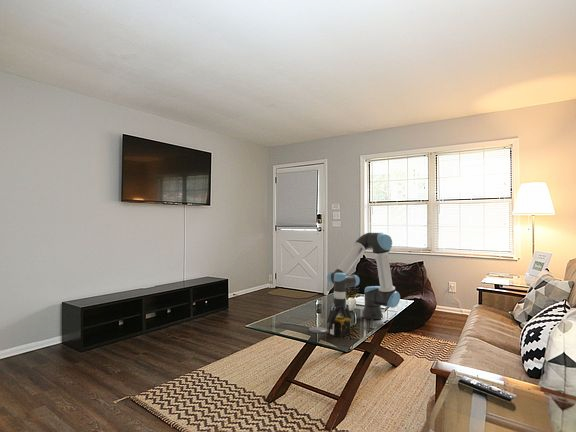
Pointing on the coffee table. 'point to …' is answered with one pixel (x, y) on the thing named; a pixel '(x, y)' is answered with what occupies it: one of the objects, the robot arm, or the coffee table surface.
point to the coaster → (318, 330)
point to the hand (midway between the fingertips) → (339, 332)
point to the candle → (341, 326)
